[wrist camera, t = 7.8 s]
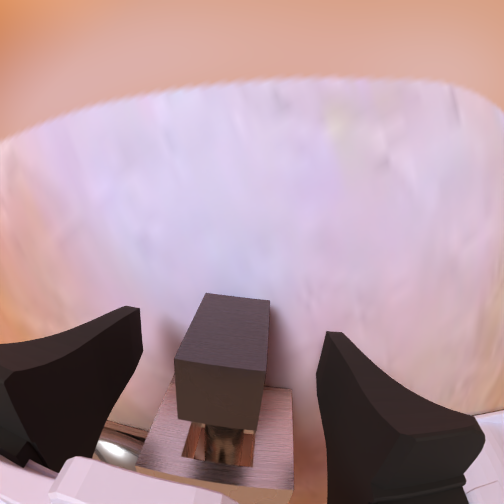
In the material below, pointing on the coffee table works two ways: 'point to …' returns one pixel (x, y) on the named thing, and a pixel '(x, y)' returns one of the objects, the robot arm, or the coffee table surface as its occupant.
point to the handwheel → (118, 449)
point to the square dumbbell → (223, 372)
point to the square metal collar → (217, 474)
